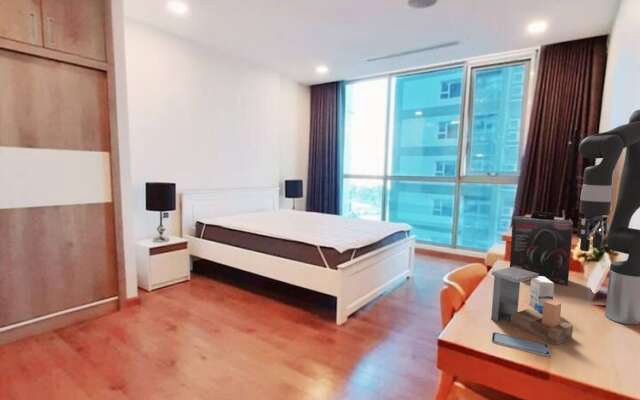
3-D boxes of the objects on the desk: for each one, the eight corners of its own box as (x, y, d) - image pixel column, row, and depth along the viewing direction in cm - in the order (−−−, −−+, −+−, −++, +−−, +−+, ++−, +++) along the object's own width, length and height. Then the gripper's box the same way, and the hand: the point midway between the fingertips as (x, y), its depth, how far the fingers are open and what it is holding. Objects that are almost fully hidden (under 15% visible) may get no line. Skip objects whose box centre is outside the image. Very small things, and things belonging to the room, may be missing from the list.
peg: (558, 336, 106) (561, 303, 105) (552, 339, 105) (555, 305, 104) (546, 331, 110) (549, 299, 108) (540, 334, 108) (543, 301, 107)
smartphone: (492, 331, 108) (548, 344, 101) (492, 334, 108) (547, 346, 101) (491, 341, 102) (550, 355, 94) (491, 344, 102) (550, 358, 94)
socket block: (526, 319, 118) (527, 308, 118) (571, 337, 106) (572, 325, 106) (510, 325, 113) (511, 314, 113) (555, 345, 101) (556, 332, 101)
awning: (509, 311, 125) (513, 266, 123) (534, 321, 117) (538, 273, 115) (488, 318, 118) (491, 271, 117) (513, 329, 111) (517, 279, 109)
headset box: (507, 275, 168) (512, 210, 165) (510, 269, 178) (515, 208, 175) (568, 286, 153) (575, 215, 150) (567, 279, 163) (574, 213, 160)
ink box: (552, 313, 123) (555, 283, 122) (537, 312, 124) (540, 282, 123) (542, 304, 132) (544, 275, 131) (528, 303, 133) (530, 274, 132)
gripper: (599, 201, 98) (594, 254, 100) (620, 199, 105) (614, 249, 107) (570, 199, 105) (566, 249, 106) (591, 197, 112) (587, 244, 114)
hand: (590, 249), depth 107 cm, fingers open, 8 cm apart
